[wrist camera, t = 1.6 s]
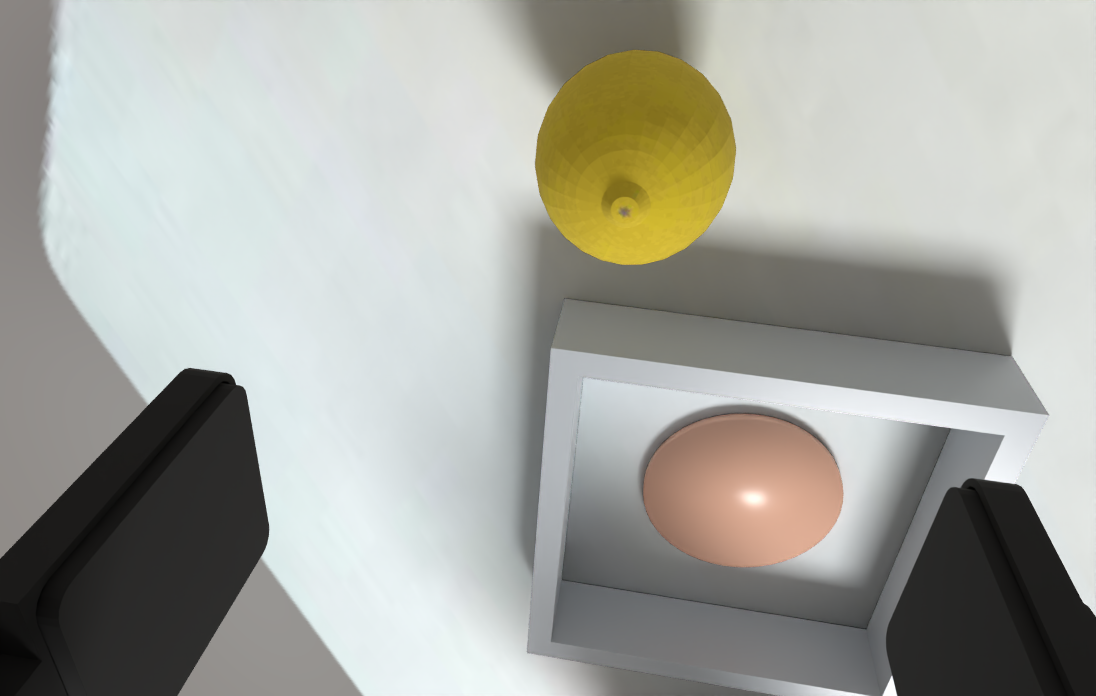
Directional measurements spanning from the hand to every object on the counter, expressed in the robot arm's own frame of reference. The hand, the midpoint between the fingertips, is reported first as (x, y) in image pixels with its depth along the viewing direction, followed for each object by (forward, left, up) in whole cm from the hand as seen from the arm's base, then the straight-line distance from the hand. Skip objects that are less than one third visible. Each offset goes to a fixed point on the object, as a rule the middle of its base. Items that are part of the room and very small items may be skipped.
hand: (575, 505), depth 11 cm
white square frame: (+15, +6, -18) cm, 24 cm away
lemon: (0, 0, -18) cm, 18 cm away
